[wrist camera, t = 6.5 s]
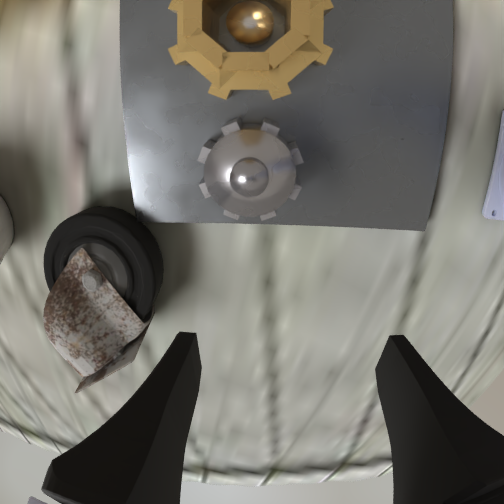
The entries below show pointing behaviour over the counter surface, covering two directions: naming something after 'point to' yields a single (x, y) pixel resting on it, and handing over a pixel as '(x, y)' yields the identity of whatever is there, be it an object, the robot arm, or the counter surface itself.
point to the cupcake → (5, 229)
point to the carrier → (291, 120)
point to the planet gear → (250, 63)
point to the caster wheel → (100, 290)
